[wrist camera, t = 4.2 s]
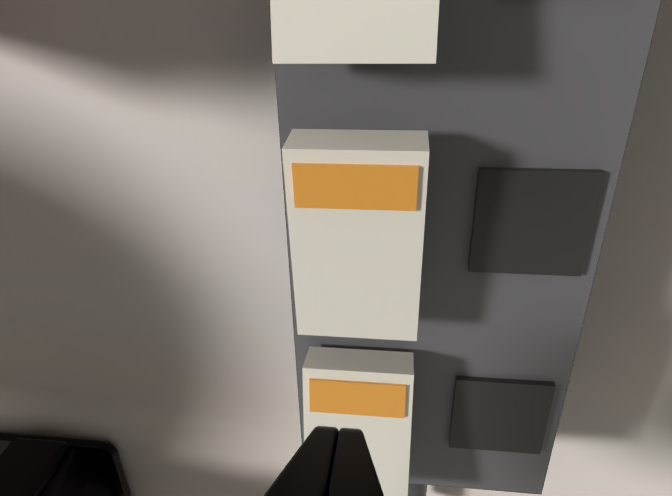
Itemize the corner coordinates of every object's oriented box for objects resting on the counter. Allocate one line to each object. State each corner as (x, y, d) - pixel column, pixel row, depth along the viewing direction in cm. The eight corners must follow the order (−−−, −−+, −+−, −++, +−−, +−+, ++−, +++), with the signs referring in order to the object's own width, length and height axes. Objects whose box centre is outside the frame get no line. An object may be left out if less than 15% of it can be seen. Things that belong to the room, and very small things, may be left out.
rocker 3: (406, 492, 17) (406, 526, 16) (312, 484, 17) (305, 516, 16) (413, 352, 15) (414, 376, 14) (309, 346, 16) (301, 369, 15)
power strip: (503, 490, 24) (521, 587, 20) (324, 475, 25) (309, 565, 21) (647, -264, 12) (753, -358, 8) (290, -241, 13) (244, -317, 9)
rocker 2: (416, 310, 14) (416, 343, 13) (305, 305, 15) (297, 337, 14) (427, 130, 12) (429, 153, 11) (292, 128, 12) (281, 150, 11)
